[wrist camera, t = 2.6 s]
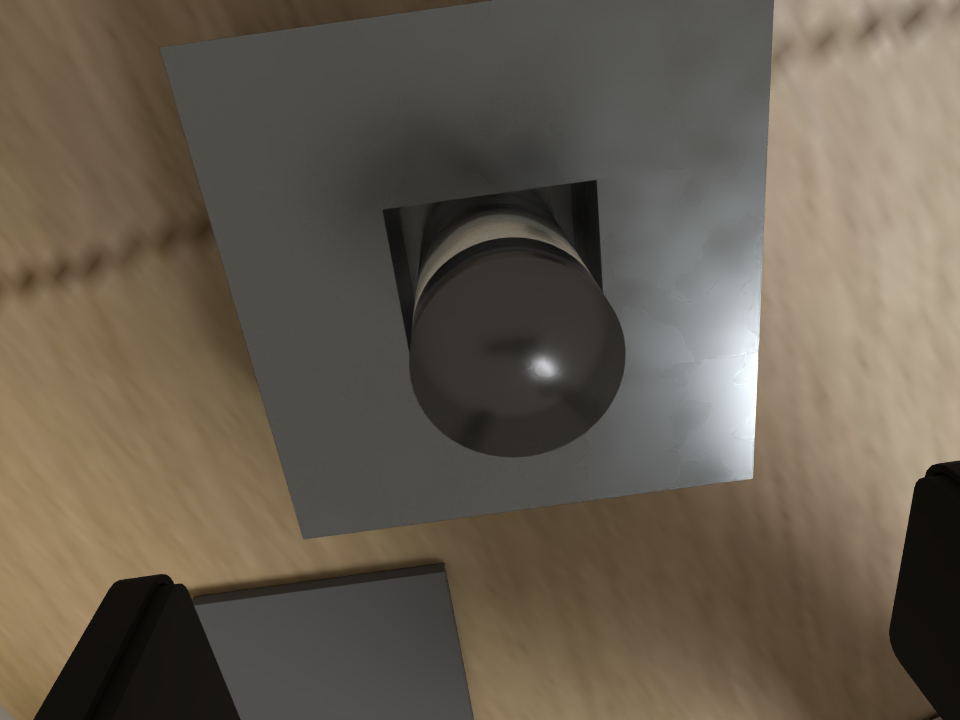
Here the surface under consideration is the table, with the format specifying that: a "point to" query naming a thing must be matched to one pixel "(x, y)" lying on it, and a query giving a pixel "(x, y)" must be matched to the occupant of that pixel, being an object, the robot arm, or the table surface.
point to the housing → (476, 172)
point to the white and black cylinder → (510, 329)
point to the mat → (341, 648)
